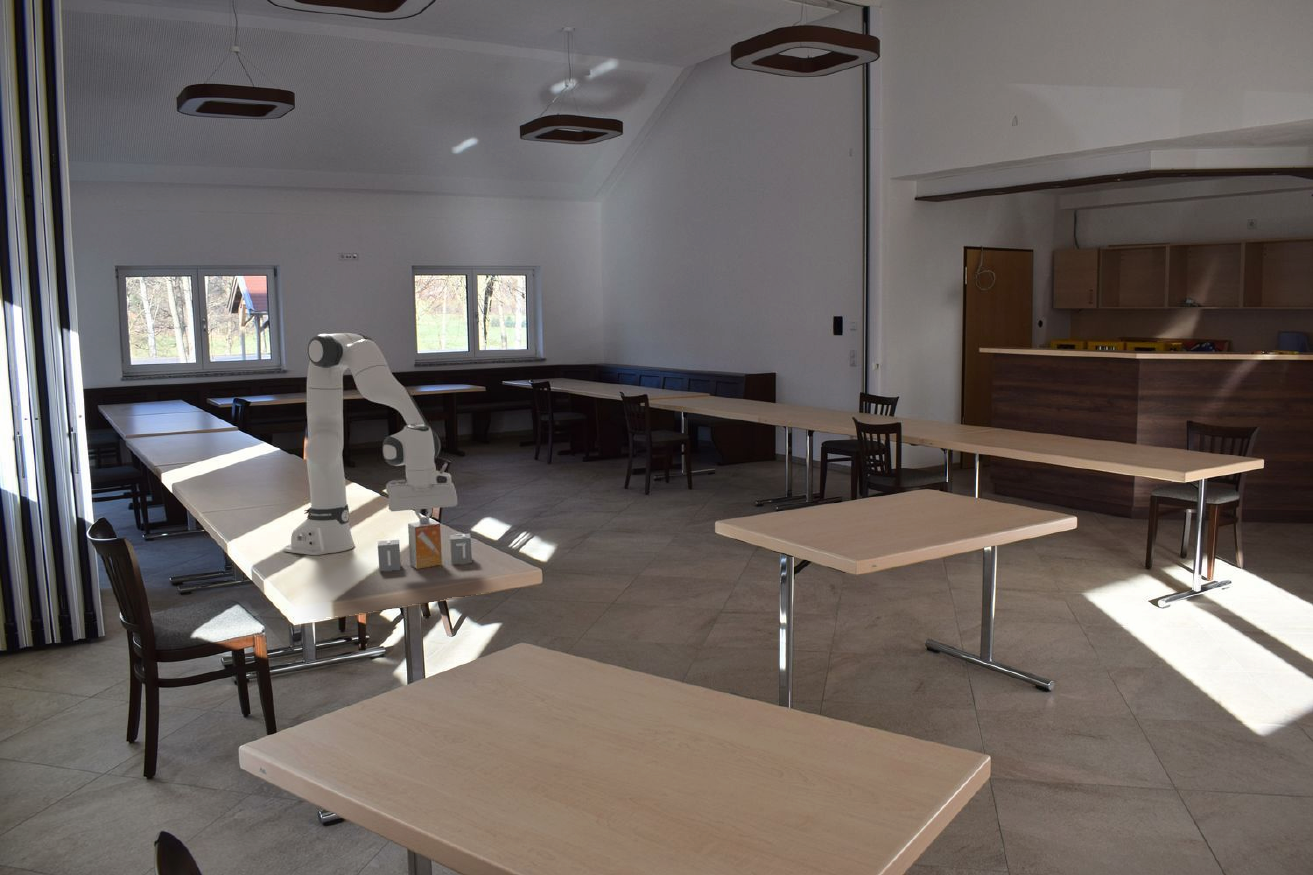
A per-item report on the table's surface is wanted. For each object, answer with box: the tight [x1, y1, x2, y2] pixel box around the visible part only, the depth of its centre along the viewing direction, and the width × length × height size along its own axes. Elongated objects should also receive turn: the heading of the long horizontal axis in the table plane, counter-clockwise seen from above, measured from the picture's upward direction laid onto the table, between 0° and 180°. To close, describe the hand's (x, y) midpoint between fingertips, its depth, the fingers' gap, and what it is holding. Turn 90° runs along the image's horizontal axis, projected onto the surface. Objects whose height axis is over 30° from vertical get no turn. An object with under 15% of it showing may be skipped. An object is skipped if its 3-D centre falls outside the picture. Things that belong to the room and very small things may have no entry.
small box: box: [407, 519, 443, 570], centre depth 294 cm, size 8×6×13 cm
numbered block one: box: [377, 539, 402, 573], centre depth 291 cm, size 6×6×8 cm
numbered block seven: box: [449, 533, 473, 565], centre depth 296 cm, size 6×6×8 cm
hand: (424, 523), depth 293 cm, fingers closed, pressing on small box
